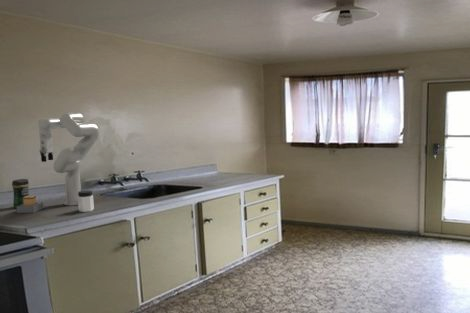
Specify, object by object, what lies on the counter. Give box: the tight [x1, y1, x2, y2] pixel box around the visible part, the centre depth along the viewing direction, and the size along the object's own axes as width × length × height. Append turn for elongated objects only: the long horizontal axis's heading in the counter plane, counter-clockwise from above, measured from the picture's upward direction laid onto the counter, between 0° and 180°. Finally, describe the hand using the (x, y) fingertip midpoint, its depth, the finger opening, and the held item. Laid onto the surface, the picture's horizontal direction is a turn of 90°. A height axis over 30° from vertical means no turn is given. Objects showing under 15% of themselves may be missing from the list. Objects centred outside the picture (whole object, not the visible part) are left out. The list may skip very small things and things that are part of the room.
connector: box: [23, 195, 37, 206], centre depth 249 cm, size 6×4×8 cm
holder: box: [15, 201, 44, 214], centre depth 249 cm, size 11×11×4 cm
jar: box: [77, 189, 95, 213], centre depth 245 cm, size 9×8×12 cm
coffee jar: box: [11, 178, 30, 209], centre depth 259 cm, size 10×8×19 cm
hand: (47, 160), depth 275 cm, fingers open, 9 cm apart
